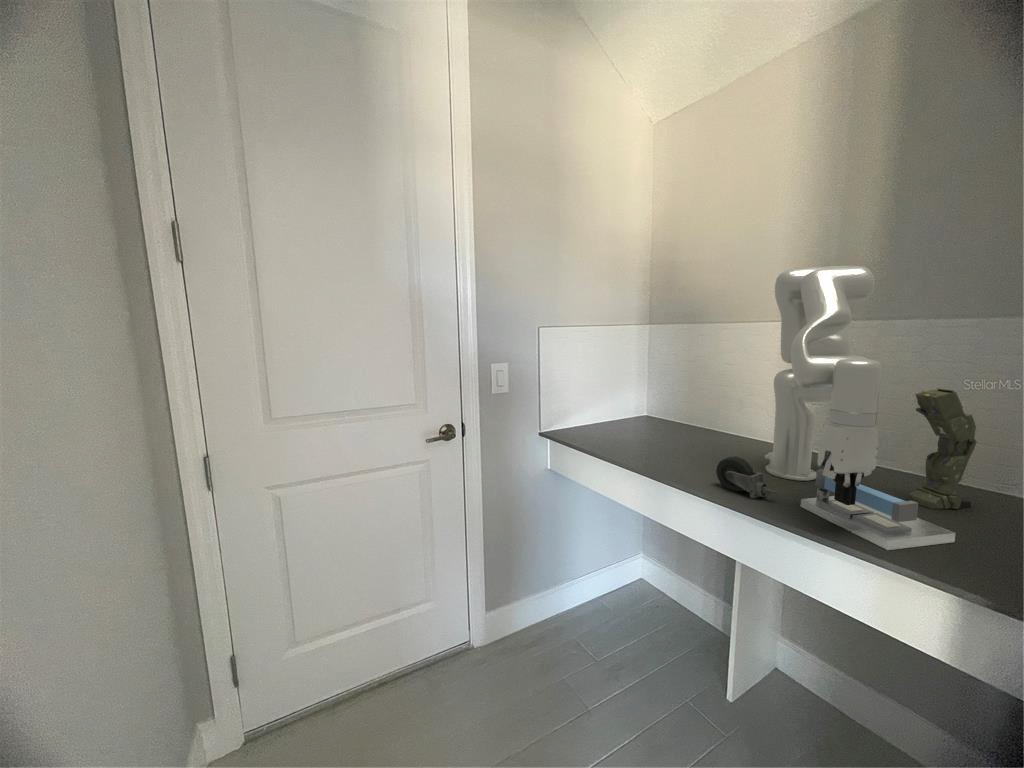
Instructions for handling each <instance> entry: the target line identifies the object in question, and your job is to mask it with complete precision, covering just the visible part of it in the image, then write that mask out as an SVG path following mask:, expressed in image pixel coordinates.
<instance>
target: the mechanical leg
mask: <svg viewBox="0 0 1024 768" xmlns="http://www.w3.org/2000/svg"><path fill="white" fill-rule="evenodd" d="M915 397H916V400H917V401H916V402H917V405H918V406H919V407H917V408H915V411H916V412H917V413H918V414H919V413H920V414H921V415H923V417H925V418H926V420H927V421H928V423H929V425H930V427H931V429H932V431H933V433H934V434H935V435H936V436H937V437H938V440H937V451H935V452H930V453H929V454H928V455H927V456H926V459H925V479H924V481H923V482H922V483H921V486H918V487H917V488H916V490H914V491H911V492H909V493H908V501H914V502H917V503H918V505H920V506H922V507H924V508H925V507H926V508H927V509H930V510H941V509H943V510H944V509H945V510H946V509H947V510H949V509H953V510H959V508H960V509H968V508H967V507H969V508H972V505H971V502H970V501H967V500H964V499H962V498H959V497H958V496H957V495H958V485H959V483H960V482H961V480H962V478H963V475H964V473H965V470H966V468H967V466H968V463H969V461H970V458H971V456H972V454H973V452H974V450H975V447H976V444H977V439H975V435H976V430H977V425H976V423H975V419H974V417H973V415H972V414H969V413H966V412H965V411H964V410H963V408H964V407H963V405H962V403H961V400H960V398H959V395H958V393H957V391H955V390H953V389H947V388H941V387H940V388H938V387H937V388H936V389H930V390H925V391H924V390H923V391H921V392H919V393H915Z"/></svg>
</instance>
